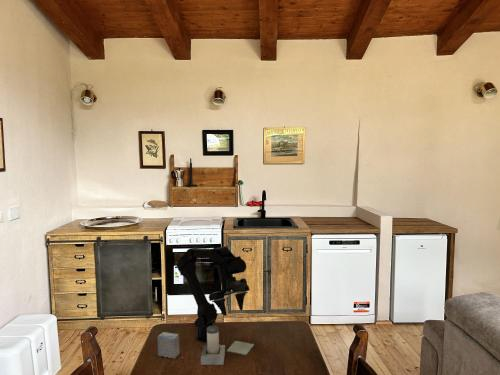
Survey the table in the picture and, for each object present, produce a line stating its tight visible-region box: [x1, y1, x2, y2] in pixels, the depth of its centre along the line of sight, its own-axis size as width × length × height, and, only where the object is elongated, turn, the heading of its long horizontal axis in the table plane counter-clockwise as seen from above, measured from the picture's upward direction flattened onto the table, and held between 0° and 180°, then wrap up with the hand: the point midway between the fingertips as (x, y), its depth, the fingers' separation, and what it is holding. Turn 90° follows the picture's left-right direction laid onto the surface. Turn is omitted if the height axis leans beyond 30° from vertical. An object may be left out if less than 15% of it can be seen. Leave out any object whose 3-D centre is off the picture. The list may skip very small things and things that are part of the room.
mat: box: [226, 340, 255, 356], centre depth 155 cm, size 9×9×1 cm
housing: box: [200, 344, 226, 366], centre depth 147 cm, size 9×9×4 cm
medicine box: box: [157, 331, 180, 359], centre depth 150 cm, size 8×4×9 cm, turn 71°
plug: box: [206, 324, 220, 354], centre depth 147 cm, size 5×5×13 cm
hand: (233, 312), depth 151 cm, fingers open, 9 cm apart
